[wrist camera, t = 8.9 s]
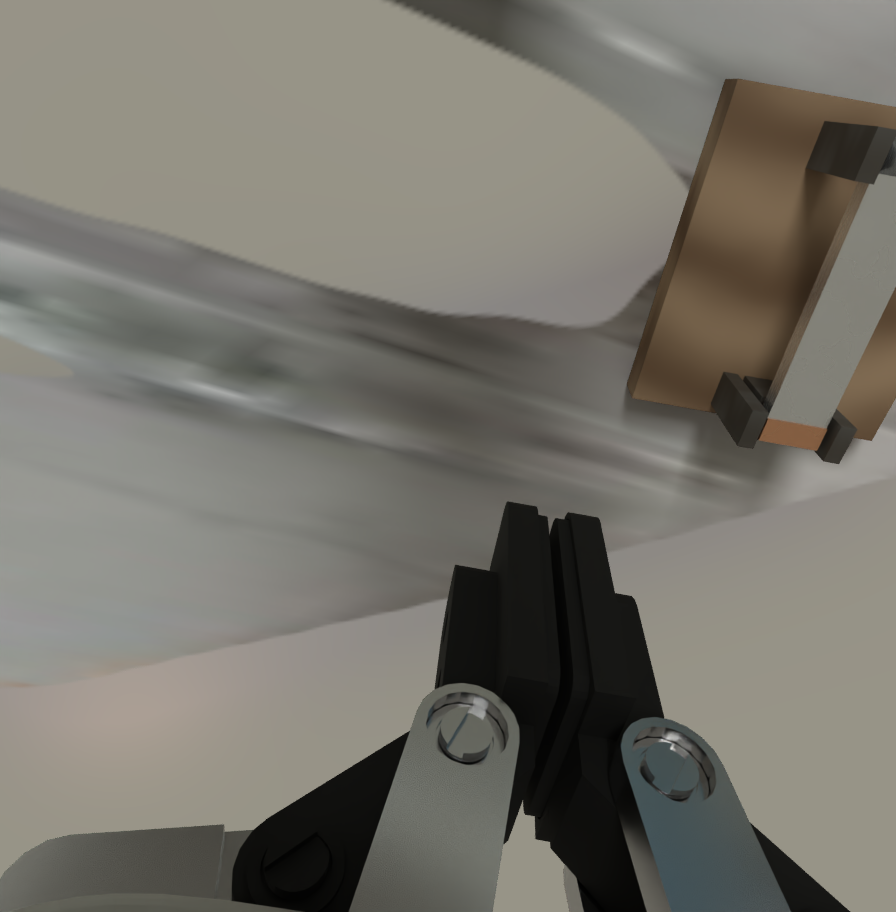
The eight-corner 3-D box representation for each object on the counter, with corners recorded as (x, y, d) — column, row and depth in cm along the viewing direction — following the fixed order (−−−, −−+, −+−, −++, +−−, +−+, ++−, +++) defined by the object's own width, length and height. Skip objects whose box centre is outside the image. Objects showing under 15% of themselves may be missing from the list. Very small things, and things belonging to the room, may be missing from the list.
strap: (874, 134, 27) (894, 135, 26) (943, 146, 27) (967, 148, 26) (749, 429, 34) (759, 443, 32) (805, 439, 34) (818, 453, 32)
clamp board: (725, 79, 31) (778, 77, 24) (1014, 131, 31) (1137, 142, 25) (626, 384, 39) (648, 439, 33) (855, 425, 39) (919, 487, 33)
